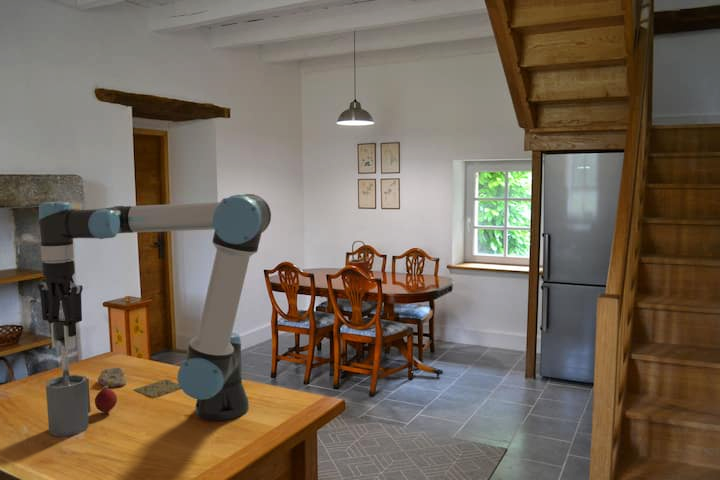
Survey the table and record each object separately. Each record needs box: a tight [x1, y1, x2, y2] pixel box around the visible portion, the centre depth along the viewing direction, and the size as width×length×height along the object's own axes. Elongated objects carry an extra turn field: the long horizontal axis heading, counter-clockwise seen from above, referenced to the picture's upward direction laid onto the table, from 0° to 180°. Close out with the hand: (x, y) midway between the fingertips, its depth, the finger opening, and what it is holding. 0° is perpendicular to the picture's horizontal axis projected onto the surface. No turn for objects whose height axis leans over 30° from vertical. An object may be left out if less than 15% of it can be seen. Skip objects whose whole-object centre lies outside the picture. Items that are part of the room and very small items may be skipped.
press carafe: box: [45, 374, 92, 438], centre depth 156 cm, size 9×11×14 cm
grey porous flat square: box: [132, 379, 182, 399], centre depth 185 cm, size 12×12×1 cm
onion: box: [94, 385, 118, 414], centre depth 165 cm, size 6×6×8 cm
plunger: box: [54, 318, 79, 387], centre depth 153 cm, size 7×7×19 cm
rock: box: [97, 367, 127, 388], centre depth 189 cm, size 9×6×10 cm
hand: (64, 346), depth 153 cm, fingers closed on plunger, 4 cm apart
